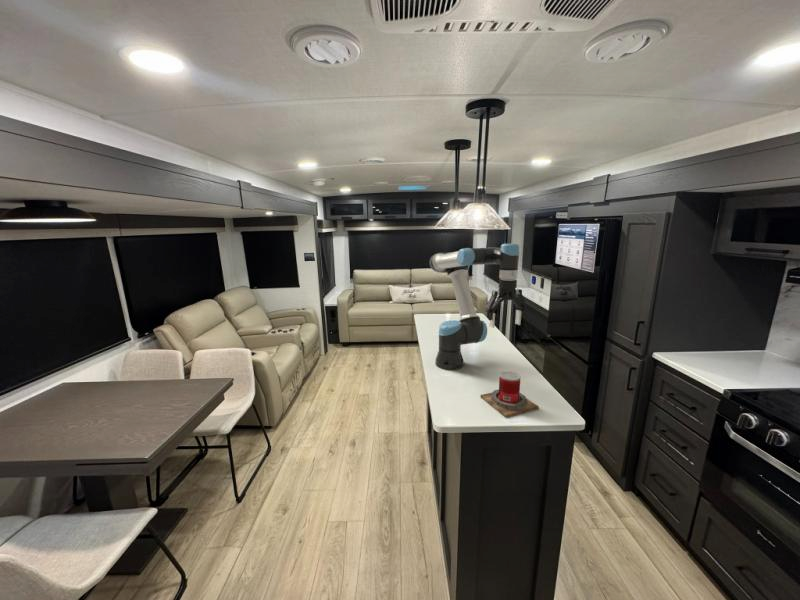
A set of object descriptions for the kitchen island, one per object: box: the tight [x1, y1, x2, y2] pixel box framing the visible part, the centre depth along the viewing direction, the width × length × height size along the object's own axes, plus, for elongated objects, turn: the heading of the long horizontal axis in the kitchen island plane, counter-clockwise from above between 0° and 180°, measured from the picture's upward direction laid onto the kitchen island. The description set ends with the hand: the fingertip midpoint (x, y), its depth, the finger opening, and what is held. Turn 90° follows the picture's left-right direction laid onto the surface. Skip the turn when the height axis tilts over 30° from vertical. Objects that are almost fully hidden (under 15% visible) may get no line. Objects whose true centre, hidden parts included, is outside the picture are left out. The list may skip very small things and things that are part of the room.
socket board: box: [480, 388, 540, 419], centre depth 123 cm, size 16×16×3 cm
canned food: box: [498, 371, 521, 404], centre depth 123 cm, size 8×8×11 cm
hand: (504, 325), depth 137 cm, fingers open, 13 cm apart
